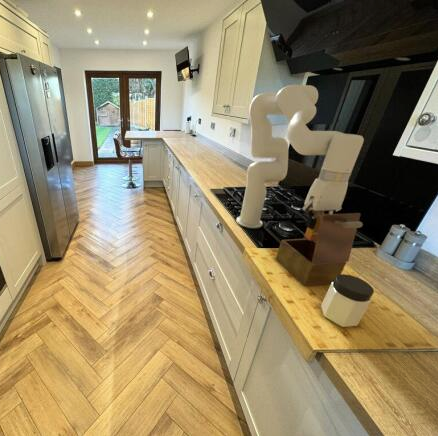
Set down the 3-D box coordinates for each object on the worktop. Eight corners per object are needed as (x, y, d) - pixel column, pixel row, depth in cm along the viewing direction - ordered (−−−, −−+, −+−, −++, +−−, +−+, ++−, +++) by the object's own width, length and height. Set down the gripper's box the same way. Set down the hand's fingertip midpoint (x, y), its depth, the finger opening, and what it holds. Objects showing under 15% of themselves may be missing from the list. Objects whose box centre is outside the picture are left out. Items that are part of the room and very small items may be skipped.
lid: (321, 214, 71) (337, 219, 66) (358, 212, 73) (376, 217, 68) (311, 263, 76) (325, 271, 71) (346, 260, 78) (361, 268, 73)
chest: (275, 258, 94) (281, 239, 90) (304, 256, 95) (311, 238, 91) (303, 285, 80) (312, 264, 76) (336, 282, 81) (346, 262, 77)
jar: (340, 303, 73) (356, 272, 67) (364, 326, 65) (384, 293, 60) (313, 305, 72) (327, 274, 67) (335, 328, 65) (352, 295, 59)
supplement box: (319, 240, 82) (328, 215, 78) (309, 240, 82) (318, 215, 78) (313, 236, 85) (322, 211, 81) (303, 236, 85) (311, 211, 81)
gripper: (346, 172, 78) (327, 221, 86) (301, 173, 76) (286, 223, 84) (368, 178, 71) (345, 231, 79) (319, 180, 69) (300, 234, 77)
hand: (315, 226), depth 82 cm, fingers closed on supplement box, 3 cm apart
